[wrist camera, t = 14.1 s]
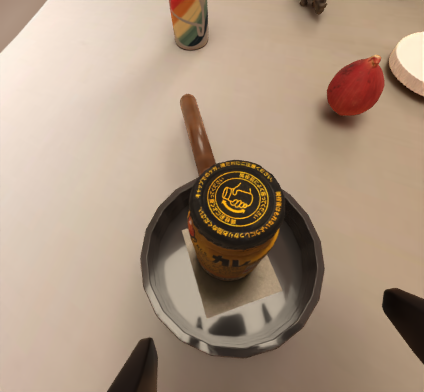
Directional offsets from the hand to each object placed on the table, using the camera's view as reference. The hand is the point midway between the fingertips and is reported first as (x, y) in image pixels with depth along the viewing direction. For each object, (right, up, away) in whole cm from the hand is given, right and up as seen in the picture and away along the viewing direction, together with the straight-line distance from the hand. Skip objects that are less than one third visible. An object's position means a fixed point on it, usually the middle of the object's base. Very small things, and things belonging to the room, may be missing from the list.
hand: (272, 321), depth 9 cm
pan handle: (-4, +11, +18) cm, 22 cm away
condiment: (-1, -2, +14) cm, 14 cm away
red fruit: (+15, +16, +23) cm, 32 cm away
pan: (-1, -2, +14) cm, 14 cm away
